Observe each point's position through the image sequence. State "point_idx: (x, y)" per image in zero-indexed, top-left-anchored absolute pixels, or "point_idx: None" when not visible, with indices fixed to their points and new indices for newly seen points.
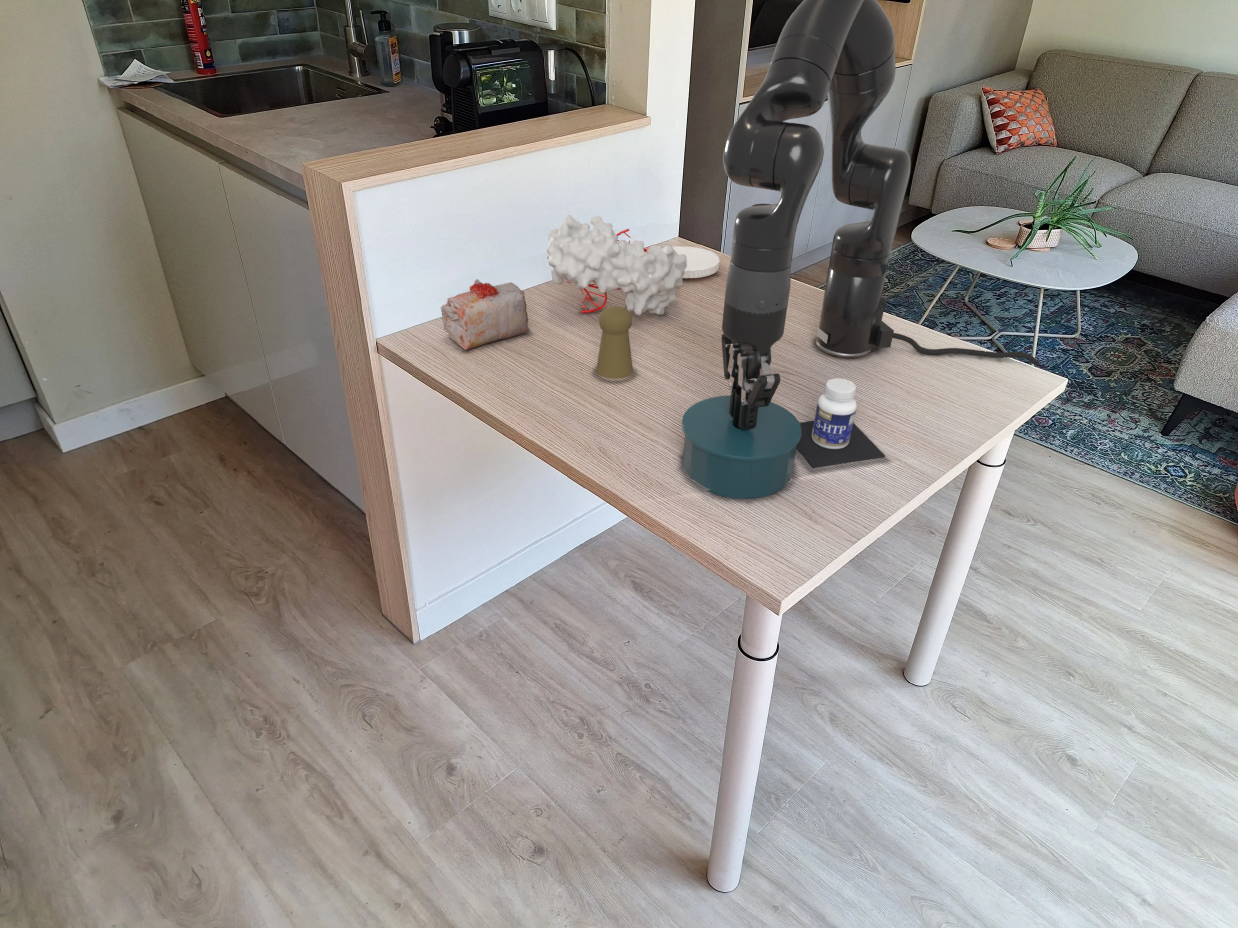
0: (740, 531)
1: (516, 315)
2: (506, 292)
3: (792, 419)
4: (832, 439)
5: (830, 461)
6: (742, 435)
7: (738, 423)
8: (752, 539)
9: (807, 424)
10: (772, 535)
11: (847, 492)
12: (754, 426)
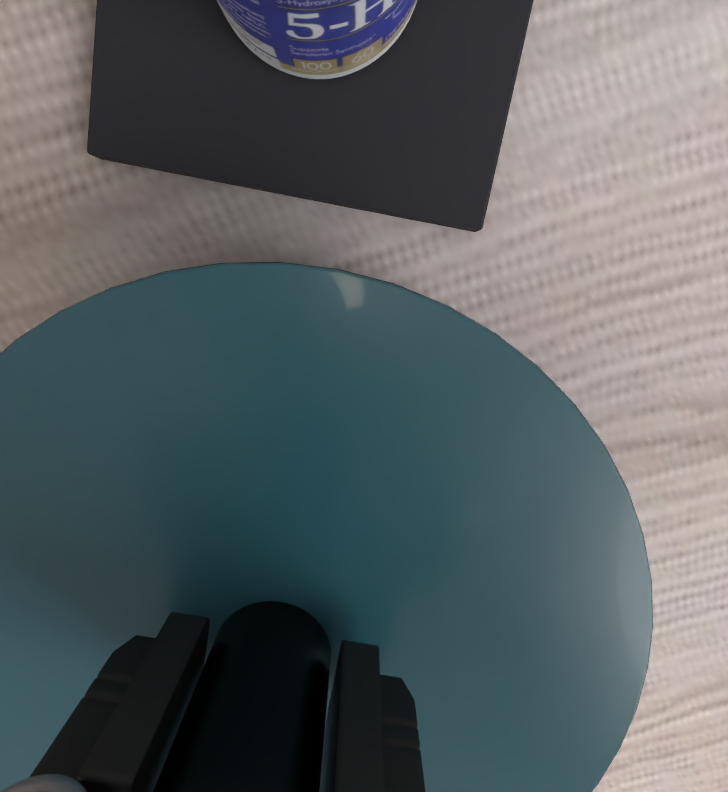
0: (645, 693)
1: None
2: None
3: (356, 312)
4: (407, 7)
5: (485, 113)
6: None
7: (323, 749)
8: (700, 682)
9: None
10: (722, 616)
11: (680, 183)
12: (403, 686)
